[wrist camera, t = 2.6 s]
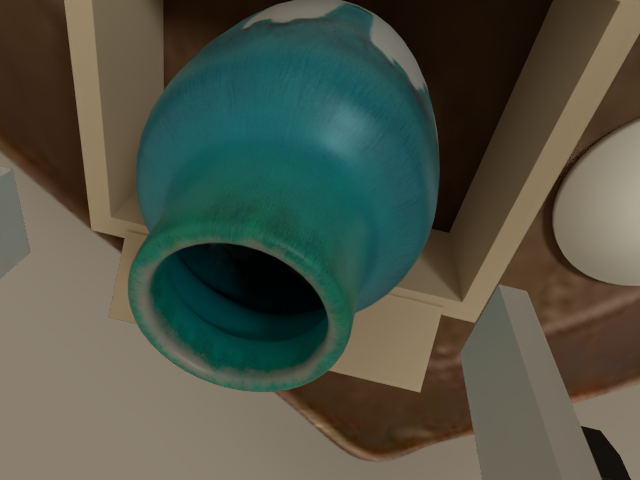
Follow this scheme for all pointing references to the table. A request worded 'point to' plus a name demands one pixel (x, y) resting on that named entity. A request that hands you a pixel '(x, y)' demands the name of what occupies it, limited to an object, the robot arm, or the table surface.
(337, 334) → the vase
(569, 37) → the carton
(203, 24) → the table surface
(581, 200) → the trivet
